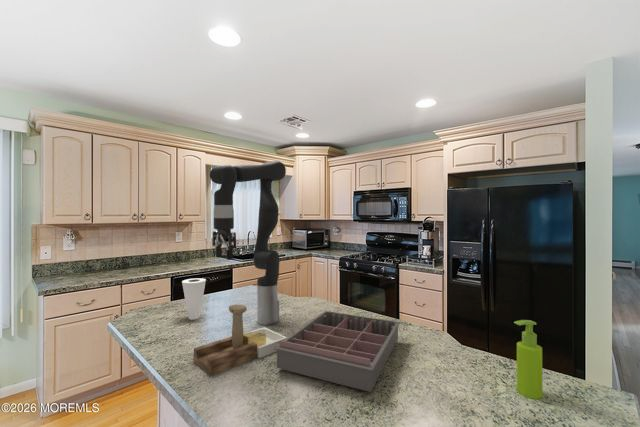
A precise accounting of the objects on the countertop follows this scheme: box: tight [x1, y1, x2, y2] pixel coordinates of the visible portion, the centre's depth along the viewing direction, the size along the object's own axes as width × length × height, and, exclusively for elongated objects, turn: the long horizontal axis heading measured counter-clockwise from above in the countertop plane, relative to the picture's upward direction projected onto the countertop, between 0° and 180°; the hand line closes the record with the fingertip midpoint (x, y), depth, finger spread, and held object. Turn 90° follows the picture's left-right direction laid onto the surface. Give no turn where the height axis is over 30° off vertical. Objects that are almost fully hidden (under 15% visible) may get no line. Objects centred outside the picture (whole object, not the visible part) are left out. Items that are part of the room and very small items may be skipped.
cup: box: [181, 277, 207, 321], centre depth 145 cm, size 11×11×18 cm
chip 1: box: [242, 331, 257, 346], centre depth 110 cm, size 4×4×4 cm
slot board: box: [192, 335, 258, 377], centre depth 104 cm, size 17×13×4 cm
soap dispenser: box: [513, 319, 543, 400], centre depth 84 cm, size 6×7×20 cm
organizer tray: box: [274, 310, 401, 393], centre depth 107 cm, size 32×40×10 cm
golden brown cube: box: [255, 332, 266, 349], centre depth 113 cm, size 4×4×4 cm
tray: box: [243, 326, 288, 359], centre depth 114 cm, size 12×15×4 cm
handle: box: [228, 304, 247, 349], centre depth 107 cm, size 5×6×15 cm
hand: (224, 258), depth 118 cm, fingers open, 8 cm apart
